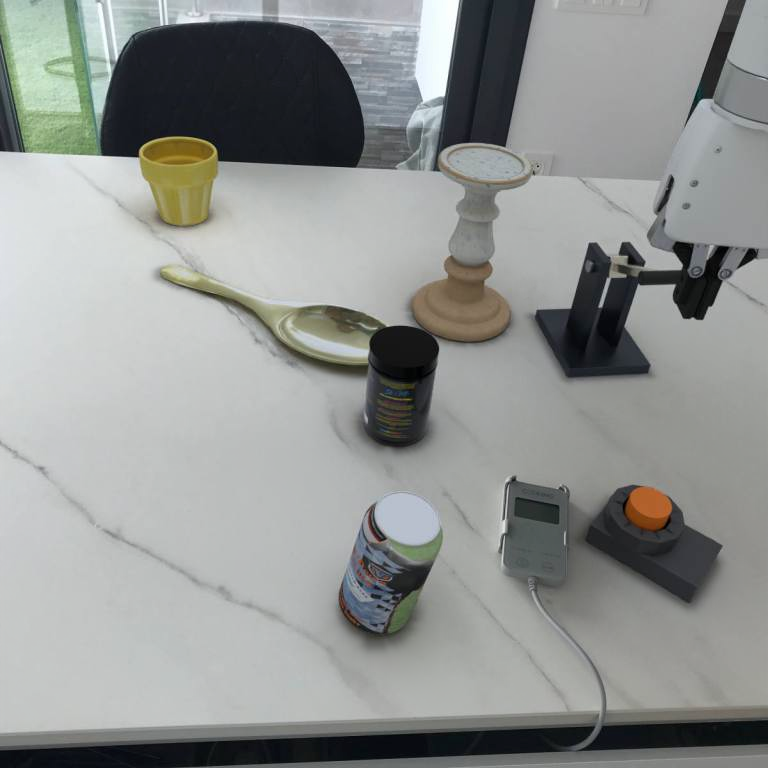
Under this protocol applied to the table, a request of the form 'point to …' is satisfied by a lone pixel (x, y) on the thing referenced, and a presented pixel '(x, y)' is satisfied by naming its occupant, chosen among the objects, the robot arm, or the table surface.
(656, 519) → the power button
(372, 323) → the spoon
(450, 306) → the candle holder
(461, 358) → the table surface
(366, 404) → the supplement container
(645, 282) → the t-shaped lever handle
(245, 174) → the table surface
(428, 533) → the beverage can
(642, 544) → the button switch box
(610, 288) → the black lever switch stand
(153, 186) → the flower pot
